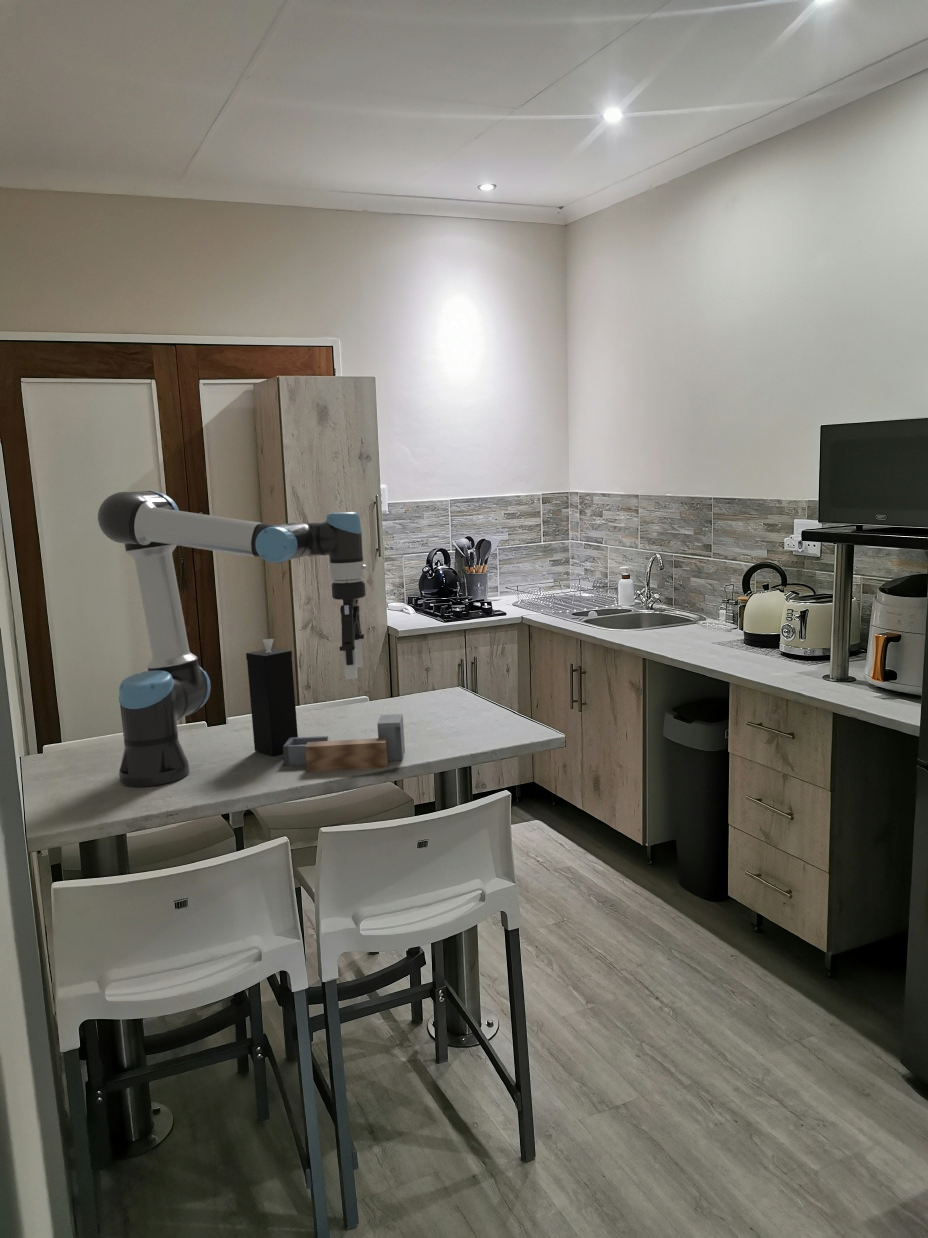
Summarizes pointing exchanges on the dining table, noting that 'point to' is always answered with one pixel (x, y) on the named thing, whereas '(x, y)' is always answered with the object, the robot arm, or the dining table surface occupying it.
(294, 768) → the dining table surface
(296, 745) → the end cap
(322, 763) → the brown wooden block
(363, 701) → the dining table surface
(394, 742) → the end cap
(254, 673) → the black tall block
